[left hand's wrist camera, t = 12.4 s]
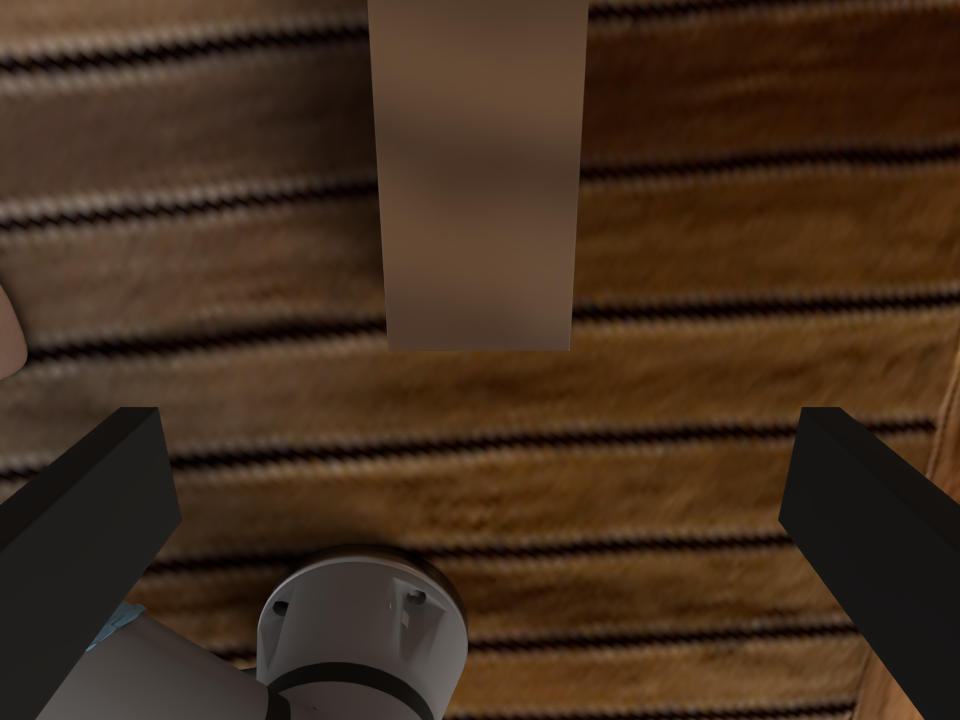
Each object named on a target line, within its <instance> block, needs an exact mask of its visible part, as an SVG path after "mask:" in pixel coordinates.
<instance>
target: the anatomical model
mask: <svg viewBox="0 0 960 720" xmlns="http://www.w3.org/2000/svg"><path fill="white" fill-rule="evenodd" d="M26 360H27V345H26V342H25V338H24V335H23V332H22V329H21V327H20V324H19V322H18V319H17V317H16V314H15V312H14V309H13V307H12V304H11V302H10V300H9V298H8V296H7V295H6V293H5V291H4V289H3V288H2V286H1V284H0V380H2V379H4V378H6V377H8V376H10V375H12V374H14V373H15V372H17V371H18V370H19V369H20V368H22V367H23V365H24V364H25V362H26Z"/></svg>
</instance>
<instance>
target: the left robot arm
mask: <svg viewBox="0 0 960 720" xmlns="http://www.w3.org/2000/svg"><path fill="white" fill-rule="evenodd" d="M181 521H182V519H181V514H180V509H179V504H178V500H177V495H176V490H175V485H174V481H173V476H172V471H171V466H170V462H169V457H168V452H167V447H166V443H165V438H164V433H163V429H162V424H161V419H160V414H159V410H158V407H120V408H119V409H118V410H116V411H115V412H114V413H113V414H112V415H110V416H109V417H108V418H107V419H105V420H104V421H103V422H102V423H100V424H99V425H98V426H97V427H96V428H94V429H93V430H92V431H91V432H89V433H88V434H87V435H86V436H85V437H83V438H82V439H81V440H80V441H78V442H77V443H76V444H75V445H73V446H72V447H71V448H70V449H69V450H67V451H66V452H65V453H64V454H62V455H61V456H60V457H59V458H58V459H56V460H55V461H54V462H53V463H51V464H50V465H49V466H48V467H46V468H45V469H44V470H43V471H42V472H40V473H39V474H38V475H37V476H35V477H34V478H33V479H32V480H31V481H29V482H28V483H27V484H26V485H24V486H23V487H22V488H21V489H19V490H18V491H17V492H16V493H15V494H13V495H12V496H11V497H10V498H8V499H7V500H6V501H5V502H4V503H2V504H1V505H0V720H441V719H442V717H443V715H444V712H445V710H446V708H447V705H448V703H449V701H450V698H451V696H452V694H453V692H454V689H455V687H456V685H457V682H458V680H459V678H460V675H461V673H462V671H463V668H464V665H465V662H466V658H467V650H468V619H467V615H466V611H465V608H464V605H463V603H462V600H461V598H460V596H459V595H458V593H457V592H456V590H455V589H454V587H453V586H452V585H451V583H450V582H449V581H448V580H447V579H446V578H445V577H444V576H443V575H442V574H441V573H439V572H438V571H437V570H436V569H434V568H433V567H432V566H430V565H429V564H427V563H425V562H424V561H422V560H420V559H418V558H416V557H414V556H412V555H410V554H407V553H404V552H401V551H398V550H395V549H391V548H386V547H381V546H373V545H346V546H338V547H334V548H329V549H325V550H322V551H319V552H316V553H314V554H312V555H309V556H307V557H305V558H304V559H302V560H300V561H299V562H297V563H296V564H294V565H293V566H292V567H290V568H289V569H288V570H287V571H286V572H285V573H284V574H283V575H282V576H281V577H280V578H279V580H278V581H277V582H276V584H275V585H274V587H273V589H272V590H271V593H270V595H269V597H268V600H267V602H266V604H265V606H264V609H263V611H262V613H261V616H260V620H259V624H258V633H257V667H255V668H249V669H243V670H239V669H237V668H236V667H234V666H232V665H231V664H229V663H227V662H225V661H224V660H222V659H220V658H219V657H217V656H215V655H214V654H212V653H210V652H208V651H207V650H205V649H203V648H202V647H200V646H198V645H197V644H195V643H193V642H191V641H190V640H188V639H186V638H185V637H183V636H181V635H180V634H178V633H176V632H175V631H173V630H171V629H170V628H168V627H166V626H165V625H163V624H162V623H160V622H158V621H157V620H155V619H153V618H152V617H150V616H149V615H147V614H145V613H144V611H145V610H146V609H147V608H146V607H144V606H143V605H141V604H135V605H132V604H130V603H128V602H126V601H124V598H125V597H126V596H127V594H128V593H129V591H130V590H131V589H132V587H133V586H134V585H135V583H136V582H137V581H138V579H139V578H140V577H141V575H142V574H143V572H144V571H145V570H146V568H147V567H148V566H149V564H150V563H151V562H152V560H153V559H154V557H155V556H156V555H157V553H158V552H159V551H160V549H161V548H162V547H163V545H164V544H165V542H166V541H167V540H168V538H169V537H170V536H171V534H172V533H173V532H174V530H175V529H176V527H177V526H178V525H179V523H180V522H181ZM778 521H779V522H780V523H781V525H782V526H783V527H784V529H785V530H786V532H787V533H788V534H789V536H790V537H791V538H792V540H793V541H794V542H795V544H796V545H797V547H798V548H799V549H800V551H801V552H802V553H803V555H804V556H805V557H806V559H807V560H808V562H809V563H810V564H811V566H812V567H813V568H814V570H815V571H816V572H817V574H818V575H819V577H820V578H821V579H822V581H823V582H824V583H825V585H826V586H827V587H828V589H829V590H830V592H831V593H832V594H833V596H834V597H835V598H836V600H837V601H838V602H839V604H840V605H841V606H842V608H843V609H844V611H845V612H846V613H847V615H848V616H849V617H850V619H851V620H852V621H853V623H854V624H855V626H856V627H857V628H858V630H859V631H860V632H861V634H862V635H863V636H864V638H865V639H866V641H867V642H868V643H869V645H870V646H871V647H872V649H873V650H874V651H875V653H876V654H877V656H878V657H879V658H880V660H881V661H882V662H883V664H884V665H885V666H886V668H887V669H888V670H889V672H890V673H891V675H892V676H893V677H894V679H895V680H896V681H897V683H898V684H899V685H900V687H901V688H902V690H903V691H904V692H905V694H906V695H907V696H908V698H909V699H910V700H911V702H912V703H913V705H914V706H915V707H916V709H917V710H918V711H919V713H920V714H921V715H922V717H923V718H924V720H960V505H959V504H958V503H956V502H955V501H954V500H953V499H952V498H950V497H949V496H948V495H947V494H945V493H944V492H943V491H942V490H941V489H939V488H938V487H937V486H936V485H934V484H933V483H932V482H931V481H929V480H928V479H927V478H926V477H925V476H923V475H922V474H921V473H920V472H918V471H917V470H916V469H915V468H914V467H912V466H911V465H910V464H909V463H907V462H906V461H905V460H904V459H902V458H901V457H900V456H899V455H898V454H896V453H895V452H894V451H893V450H891V449H890V448H889V447H888V446H887V445H885V444H884V443H883V442H882V441H880V440H879V439H878V438H877V437H875V436H874V435H873V434H872V433H871V432H869V431H868V430H867V429H866V428H864V427H863V426H862V425H861V424H860V423H858V422H857V421H856V420H855V419H853V418H852V417H851V416H850V415H848V414H847V413H846V412H845V411H844V410H842V409H841V408H840V407H802V410H801V414H800V419H799V424H798V429H797V433H796V438H795V443H794V447H793V452H792V457H791V462H790V466H789V471H788V476H787V481H786V485H785V490H784V495H783V500H782V504H781V509H780V514H779V519H778Z"/></svg>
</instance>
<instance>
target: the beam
mask: <svg viewBox="0 0 960 720" xmlns="http://www.w3.org/2000/svg"><path fill="white" fill-rule="evenodd" d="M588 6H589V0H367V7H368V23H369V40H370V56H371V73H372V89H373V106H374V123H375V139H376V156H377V172H378V189H379V206H380V222H381V239H382V255H383V272H384V288H385V305H386V322H387V338H388V350H389V351H569V350H570V338H571V320H572V301H573V283H574V264H575V246H576V228H577V209H578V191H579V172H580V154H581V135H582V117H583V99H584V80H585V62H586V43H587V25H588Z"/></svg>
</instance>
